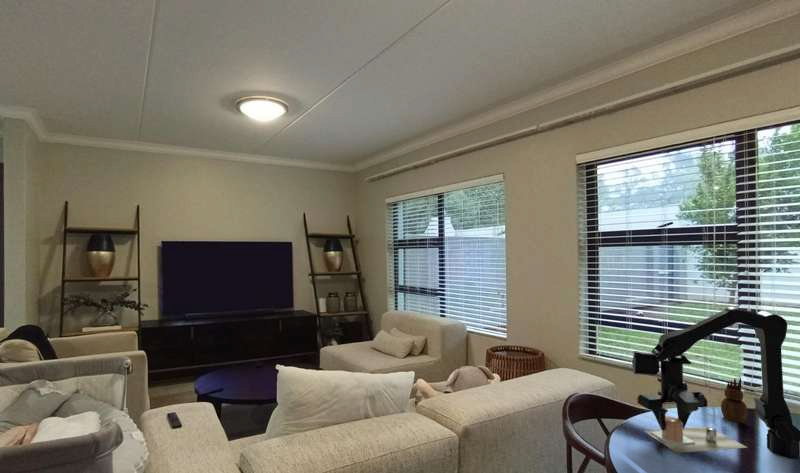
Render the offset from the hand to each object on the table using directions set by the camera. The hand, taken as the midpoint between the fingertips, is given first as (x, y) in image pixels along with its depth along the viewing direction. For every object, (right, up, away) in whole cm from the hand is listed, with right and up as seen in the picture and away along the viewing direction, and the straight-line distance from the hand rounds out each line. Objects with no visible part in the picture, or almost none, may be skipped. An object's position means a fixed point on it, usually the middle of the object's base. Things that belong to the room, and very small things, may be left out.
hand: (672, 429), depth 132 cm
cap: (0, -2, 0) cm, 2 cm away
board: (+6, -4, 0) cm, 7 cm away
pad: (0, -3, 0) cm, 3 cm away
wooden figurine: (+29, -4, +13) cm, 32 cm away
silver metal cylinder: (+10, -3, -2) cm, 11 cm away
